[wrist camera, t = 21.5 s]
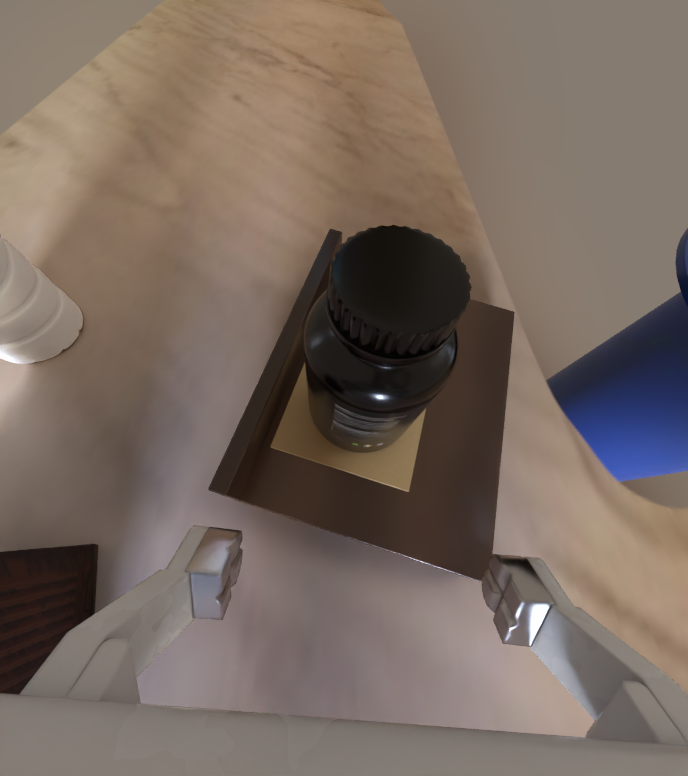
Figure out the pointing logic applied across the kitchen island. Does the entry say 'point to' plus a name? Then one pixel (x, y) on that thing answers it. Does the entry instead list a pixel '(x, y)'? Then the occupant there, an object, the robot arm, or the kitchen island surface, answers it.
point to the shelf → (389, 465)
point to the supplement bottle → (383, 335)
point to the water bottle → (32, 311)
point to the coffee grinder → (41, 606)
